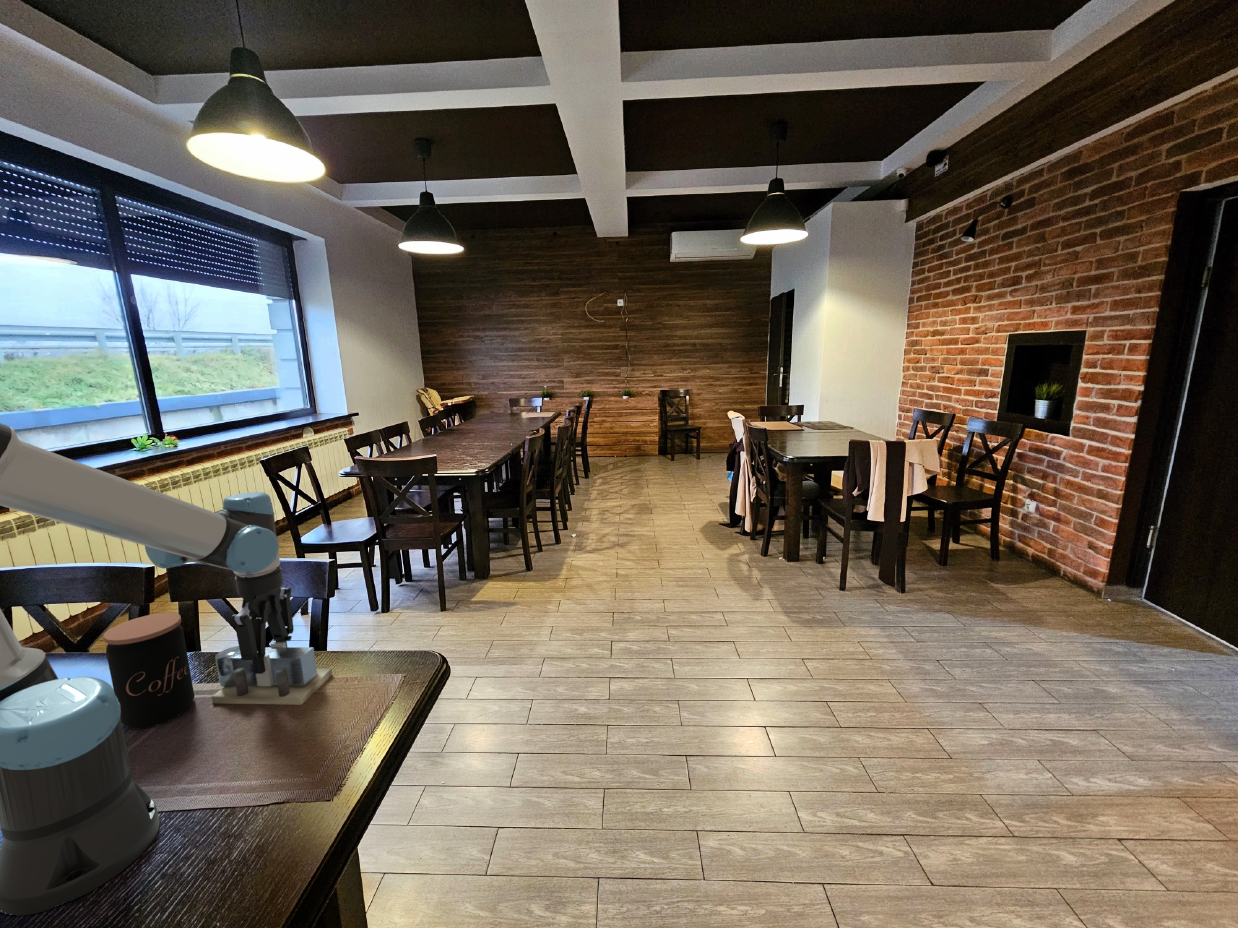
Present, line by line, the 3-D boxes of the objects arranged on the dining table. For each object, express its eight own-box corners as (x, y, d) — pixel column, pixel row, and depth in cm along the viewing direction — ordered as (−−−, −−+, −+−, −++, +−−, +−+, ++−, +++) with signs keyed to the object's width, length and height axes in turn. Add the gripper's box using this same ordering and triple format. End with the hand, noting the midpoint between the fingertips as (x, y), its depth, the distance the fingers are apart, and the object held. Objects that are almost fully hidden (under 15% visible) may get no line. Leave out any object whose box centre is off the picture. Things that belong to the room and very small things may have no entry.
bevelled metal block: (319, 672, 106) (315, 645, 105) (302, 687, 101) (298, 659, 99) (233, 671, 106) (229, 645, 105) (213, 686, 101) (208, 659, 100)
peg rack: (301, 704, 98) (297, 674, 97) (212, 703, 99) (207, 673, 98) (332, 674, 108) (328, 646, 107) (251, 673, 109) (247, 646, 108)
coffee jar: (127, 740, 89) (108, 646, 86) (115, 716, 96) (97, 628, 93) (202, 708, 98) (188, 622, 95) (187, 688, 104) (173, 607, 101)
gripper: (242, 588, 91) (260, 705, 95) (305, 555, 108) (318, 655, 112) (202, 588, 91) (222, 704, 95) (271, 555, 108) (285, 655, 112)
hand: (274, 677), depth 103 cm, fingers closed on bevelled metal block, 4 cm apart
